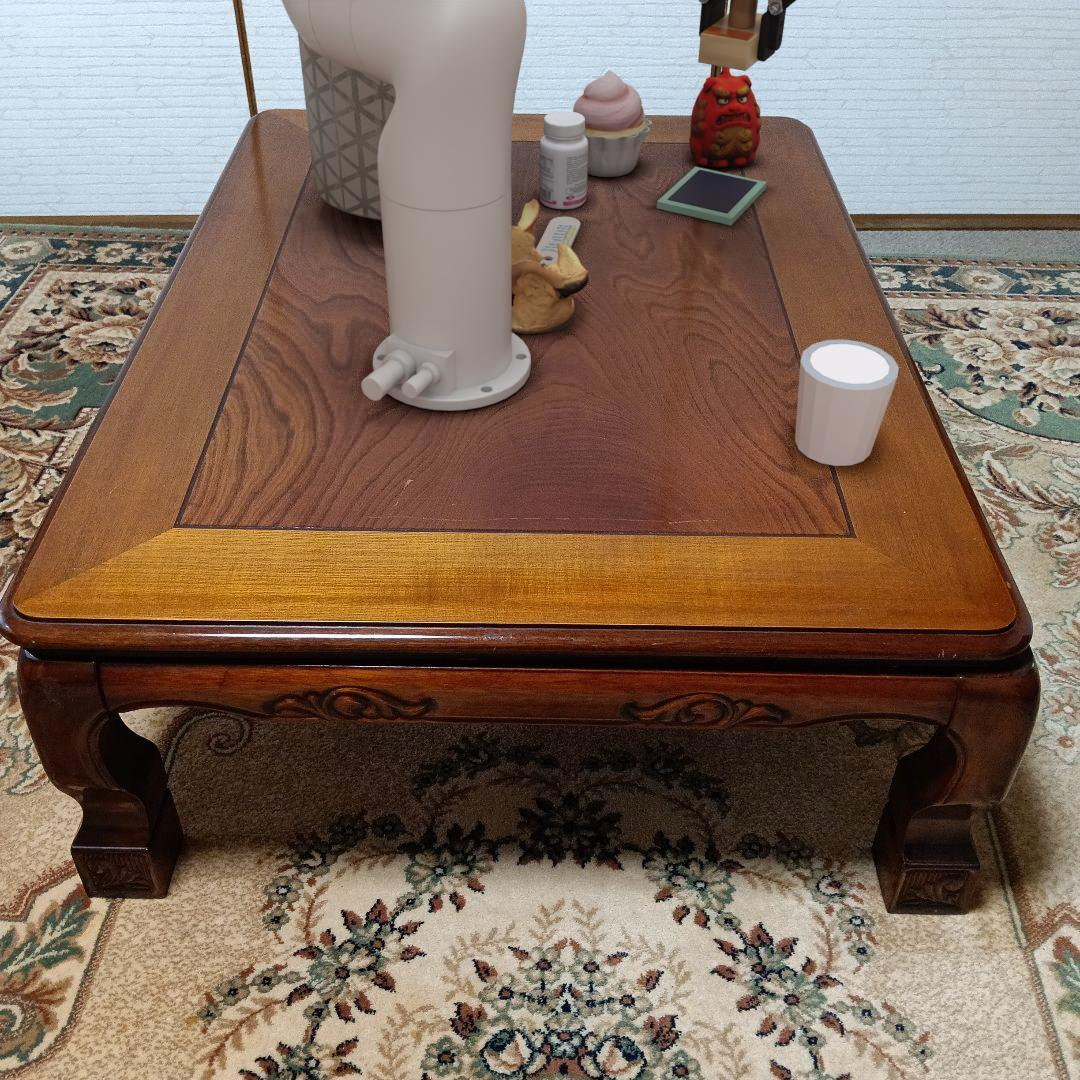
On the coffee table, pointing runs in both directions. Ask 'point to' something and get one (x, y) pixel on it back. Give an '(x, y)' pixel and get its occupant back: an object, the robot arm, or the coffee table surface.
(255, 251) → the coffee table surface
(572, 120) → the pill bottle
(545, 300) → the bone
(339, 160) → the planter
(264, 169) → the coffee table surface
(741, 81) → the red clay folk toy
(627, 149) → the cupcake
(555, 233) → the keychain
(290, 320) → the coffee table surface
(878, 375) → the white cylinder
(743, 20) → the stamp
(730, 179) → the ink pad
